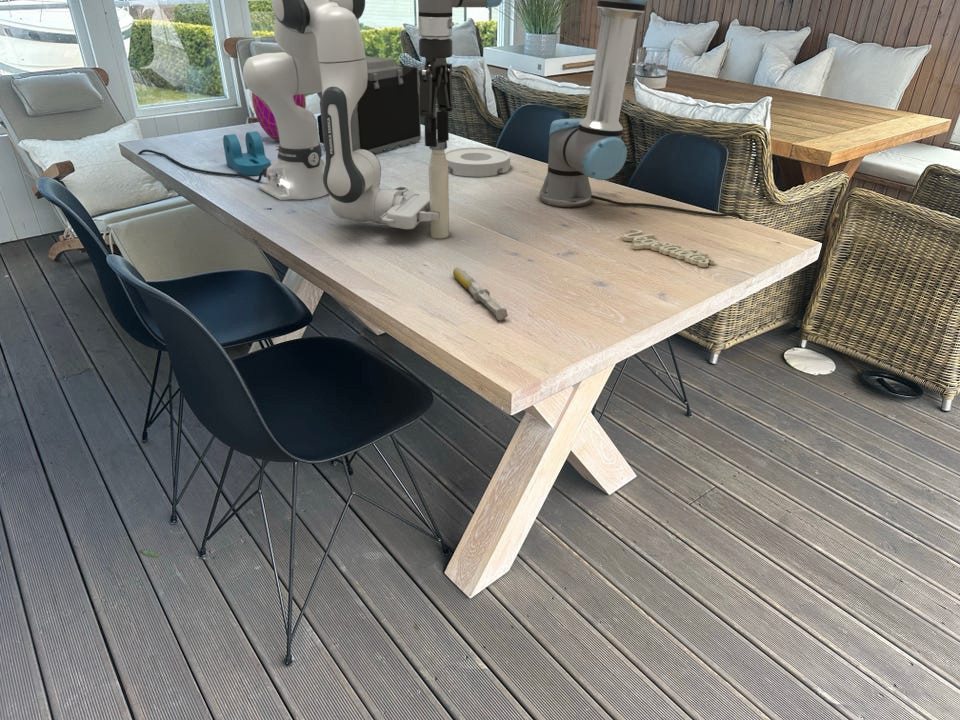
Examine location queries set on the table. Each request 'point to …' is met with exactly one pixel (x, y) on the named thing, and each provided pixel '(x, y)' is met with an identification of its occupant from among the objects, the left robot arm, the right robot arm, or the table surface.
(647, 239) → the decorative sign
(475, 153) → the ashtray
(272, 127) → the decorative egg
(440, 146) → the cap
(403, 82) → the cooler box
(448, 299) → the table surface
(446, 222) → the bottle
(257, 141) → the camera mount
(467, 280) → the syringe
